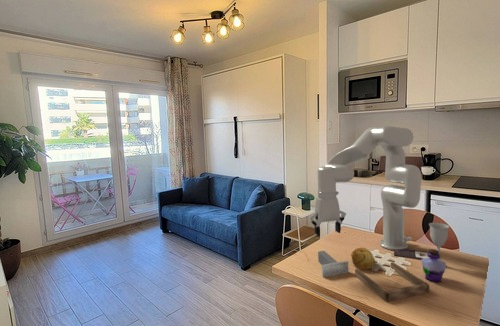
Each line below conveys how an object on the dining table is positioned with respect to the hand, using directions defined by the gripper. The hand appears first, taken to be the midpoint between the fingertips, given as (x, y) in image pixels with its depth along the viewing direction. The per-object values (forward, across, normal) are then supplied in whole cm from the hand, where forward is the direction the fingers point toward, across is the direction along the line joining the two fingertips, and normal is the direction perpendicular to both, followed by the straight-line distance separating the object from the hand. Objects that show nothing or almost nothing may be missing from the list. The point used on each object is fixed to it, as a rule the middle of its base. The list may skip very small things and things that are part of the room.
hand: (327, 233), depth 120 cm
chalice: (+16, -45, +13) cm, 50 cm away
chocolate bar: (+16, -44, +2) cm, 47 cm away
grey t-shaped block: (+16, 0, -1) cm, 16 cm away
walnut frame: (+16, -16, +18) cm, 29 cm away
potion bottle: (+16, -34, +21) cm, 43 cm away
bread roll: (+16, -16, +2) cm, 23 cm away
